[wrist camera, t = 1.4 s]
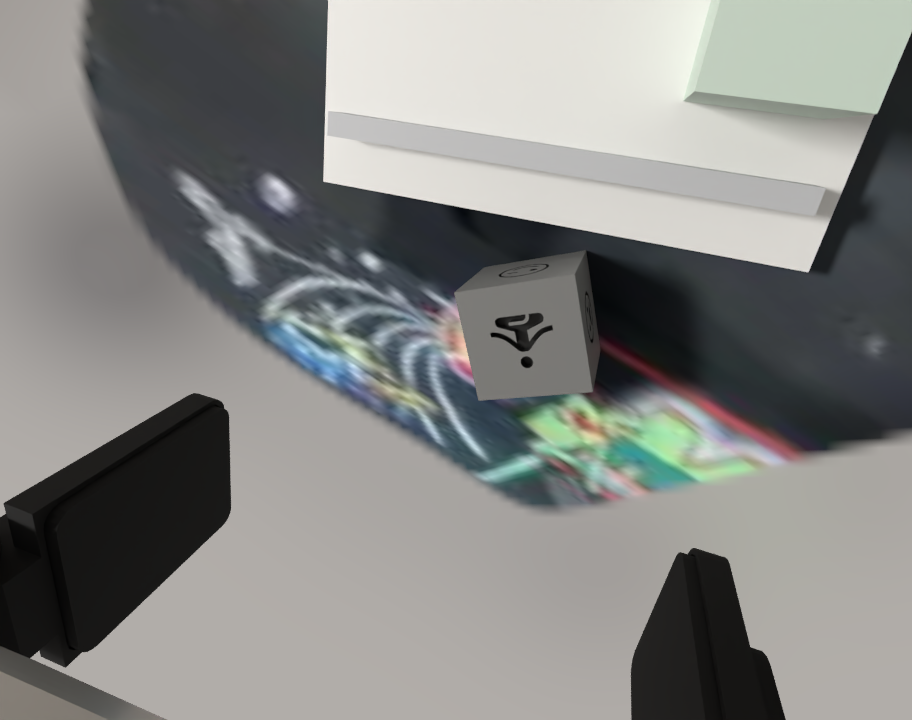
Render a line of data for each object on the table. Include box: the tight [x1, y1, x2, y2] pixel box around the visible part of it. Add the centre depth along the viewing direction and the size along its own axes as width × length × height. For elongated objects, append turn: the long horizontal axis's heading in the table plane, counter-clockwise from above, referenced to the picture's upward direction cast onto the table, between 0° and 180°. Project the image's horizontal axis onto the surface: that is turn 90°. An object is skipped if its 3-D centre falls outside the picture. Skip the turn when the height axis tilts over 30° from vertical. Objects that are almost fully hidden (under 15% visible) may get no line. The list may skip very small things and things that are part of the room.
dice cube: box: [454, 250, 601, 401], centre depth 25 cm, size 5×5×5 cm
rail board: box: [323, 0, 912, 272], centre depth 19 cm, size 22×16×6 cm
